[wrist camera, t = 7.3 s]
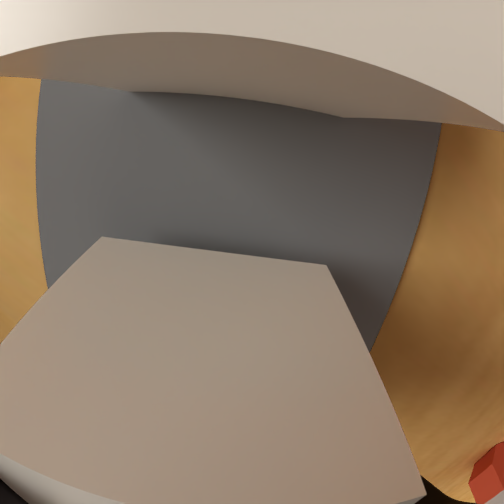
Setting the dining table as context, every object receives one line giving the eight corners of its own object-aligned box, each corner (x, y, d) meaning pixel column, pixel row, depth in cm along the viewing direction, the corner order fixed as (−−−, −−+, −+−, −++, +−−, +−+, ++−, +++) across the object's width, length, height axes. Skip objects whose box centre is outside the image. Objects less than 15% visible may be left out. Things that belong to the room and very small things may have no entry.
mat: (332, 418, 15) (333, 422, 14) (77, 386, 14) (75, 389, 13) (442, -57, 5) (446, -59, 5) (105, -101, 4) (103, -104, 4)
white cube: (281, 408, 12) (297, 566, 5) (120, 387, 11) (73, 536, 5) (326, 265, 9) (427, 493, 3) (101, 236, 8) (-54, 418, 2)
